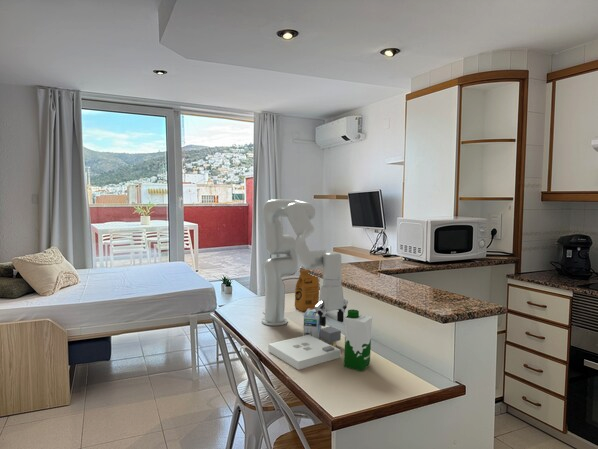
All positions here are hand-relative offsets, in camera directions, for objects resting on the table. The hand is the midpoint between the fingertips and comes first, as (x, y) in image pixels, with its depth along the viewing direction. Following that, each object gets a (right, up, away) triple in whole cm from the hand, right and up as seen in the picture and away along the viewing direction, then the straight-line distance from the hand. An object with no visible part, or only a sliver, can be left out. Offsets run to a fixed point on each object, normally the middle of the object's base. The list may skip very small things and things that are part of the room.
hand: (331, 323), depth 162 cm
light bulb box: (-7, -9, +12) cm, 17 cm away
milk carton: (+8, -11, -19) cm, 23 cm away
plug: (-1, -9, +1) cm, 9 cm away
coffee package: (-9, -6, +55) cm, 56 cm away
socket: (-12, -10, -9) cm, 18 cm away
